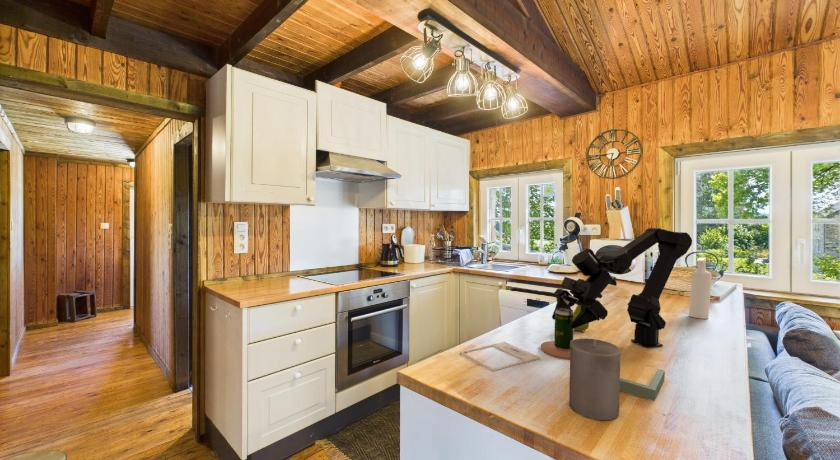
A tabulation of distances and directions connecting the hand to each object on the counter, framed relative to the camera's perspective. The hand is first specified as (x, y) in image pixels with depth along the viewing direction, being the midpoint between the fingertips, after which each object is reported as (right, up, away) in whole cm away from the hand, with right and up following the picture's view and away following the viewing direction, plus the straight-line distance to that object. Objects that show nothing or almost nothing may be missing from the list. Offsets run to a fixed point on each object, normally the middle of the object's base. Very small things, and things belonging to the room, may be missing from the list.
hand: (561, 322), depth 108 cm
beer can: (+1, -8, 0) cm, 8 cm away
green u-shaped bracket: (+7, -10, -18) cm, 22 cm away
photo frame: (-20, -9, -4) cm, 22 cm away
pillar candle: (-6, -10, -32) cm, 34 cm away
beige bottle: (+75, -8, +41) cm, 86 cm away
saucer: (+1, -9, 0) cm, 9 cm away
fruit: (+15, -8, +21) cm, 27 cm away
